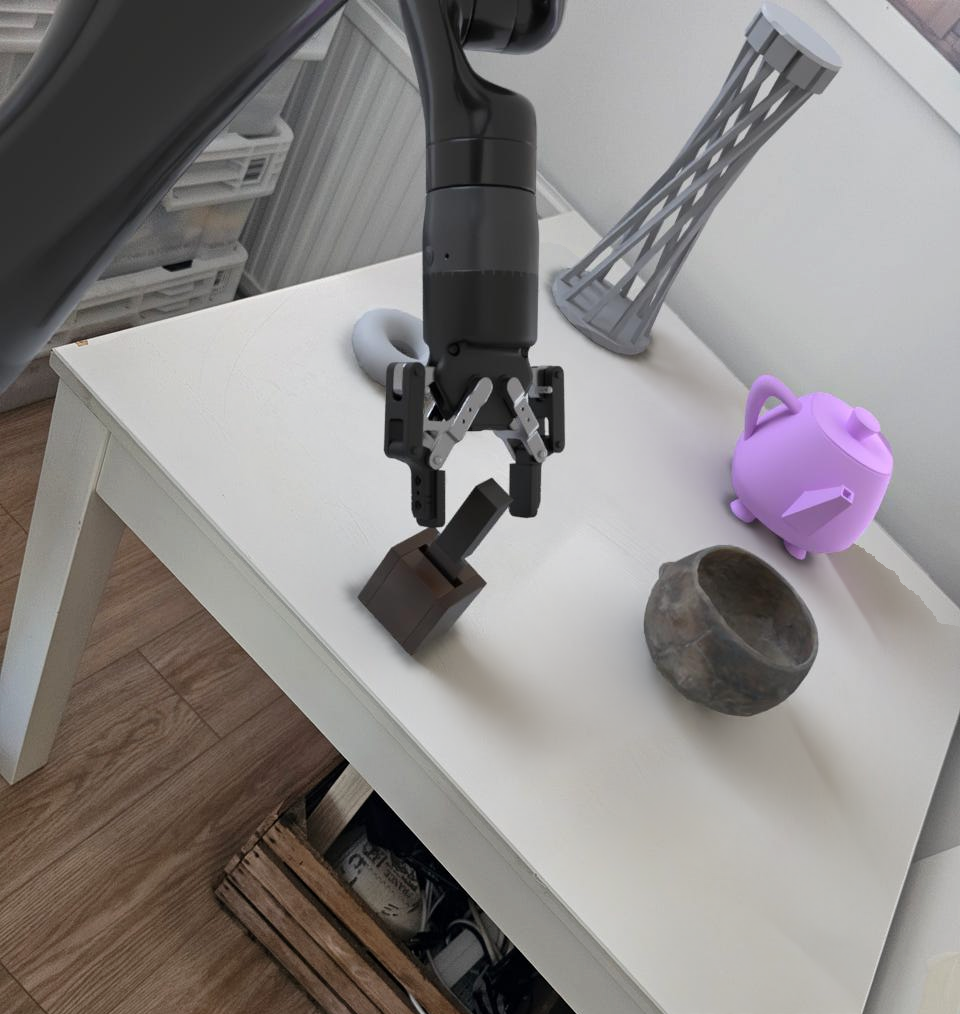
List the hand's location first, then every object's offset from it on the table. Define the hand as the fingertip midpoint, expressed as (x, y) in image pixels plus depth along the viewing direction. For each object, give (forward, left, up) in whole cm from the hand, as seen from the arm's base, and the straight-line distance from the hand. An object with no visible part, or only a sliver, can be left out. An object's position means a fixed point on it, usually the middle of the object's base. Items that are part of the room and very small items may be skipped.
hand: (478, 521), depth 71 cm
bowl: (+28, -3, -12) cm, 30 cm away
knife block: (0, 0, -11) cm, 11 cm away
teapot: (+49, +19, -12) cm, 54 cm away
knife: (0, 0, -11) cm, 11 cm away
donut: (+6, +29, -12) cm, 32 cm away
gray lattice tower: (+38, +48, -12) cm, 62 cm away
